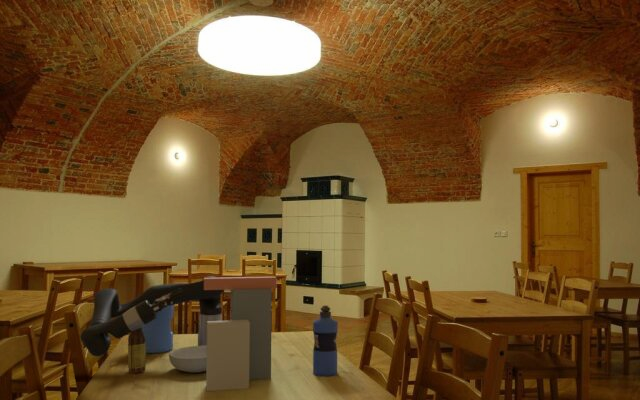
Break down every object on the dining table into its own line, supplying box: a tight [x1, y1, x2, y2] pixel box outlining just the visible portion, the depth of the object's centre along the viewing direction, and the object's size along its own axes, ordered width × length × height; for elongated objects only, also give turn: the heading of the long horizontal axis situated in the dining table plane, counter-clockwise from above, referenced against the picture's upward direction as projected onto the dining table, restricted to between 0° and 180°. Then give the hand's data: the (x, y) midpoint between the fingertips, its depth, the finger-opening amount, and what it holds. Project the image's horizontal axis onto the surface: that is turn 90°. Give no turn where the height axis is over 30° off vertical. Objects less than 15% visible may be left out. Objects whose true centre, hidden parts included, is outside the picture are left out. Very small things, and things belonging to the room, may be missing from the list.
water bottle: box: [312, 305, 339, 378], centre depth 203 cm, size 9×9×25 cm
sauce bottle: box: [127, 327, 147, 374], centre depth 204 cm, size 6×6×20 cm
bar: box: [203, 276, 277, 291], centre depth 198 cm, size 26×4×4 cm, turn 104°
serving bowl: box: [168, 345, 207, 374], centre depth 207 cm, size 21×21×7 cm
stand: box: [205, 288, 273, 392], centre depth 192 cm, size 23×18×32 cm
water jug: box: [142, 305, 175, 354], centre depth 240 cm, size 16×16×28 cm
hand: (181, 292), depth 193 cm, fingers open, 8 cm apart
